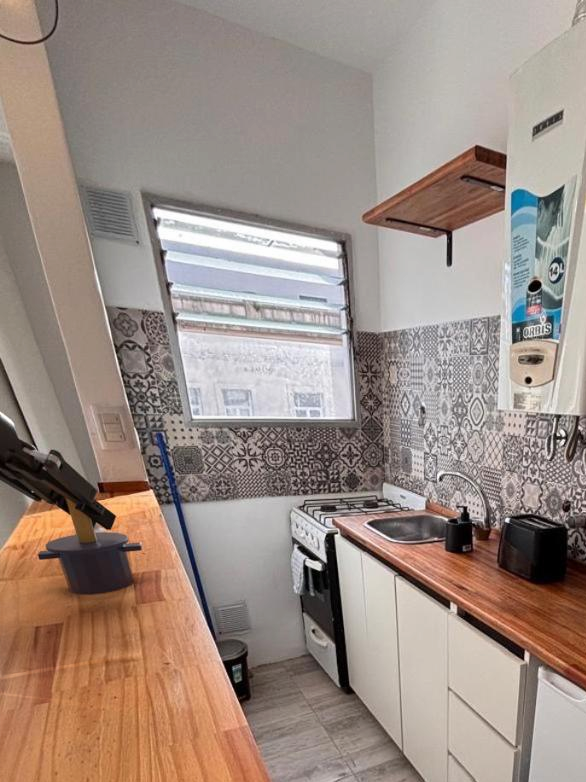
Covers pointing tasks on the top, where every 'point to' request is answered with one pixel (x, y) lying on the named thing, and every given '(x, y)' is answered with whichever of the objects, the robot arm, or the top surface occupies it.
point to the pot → (96, 569)
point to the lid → (85, 537)
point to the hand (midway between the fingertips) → (102, 522)
